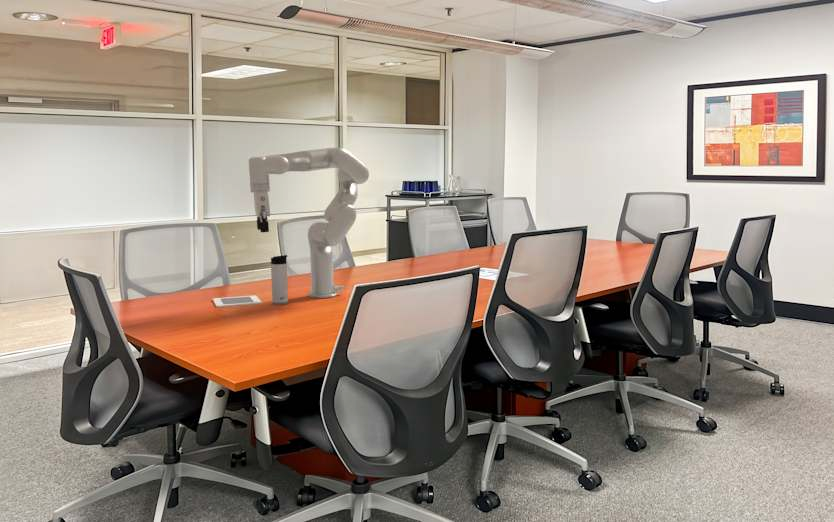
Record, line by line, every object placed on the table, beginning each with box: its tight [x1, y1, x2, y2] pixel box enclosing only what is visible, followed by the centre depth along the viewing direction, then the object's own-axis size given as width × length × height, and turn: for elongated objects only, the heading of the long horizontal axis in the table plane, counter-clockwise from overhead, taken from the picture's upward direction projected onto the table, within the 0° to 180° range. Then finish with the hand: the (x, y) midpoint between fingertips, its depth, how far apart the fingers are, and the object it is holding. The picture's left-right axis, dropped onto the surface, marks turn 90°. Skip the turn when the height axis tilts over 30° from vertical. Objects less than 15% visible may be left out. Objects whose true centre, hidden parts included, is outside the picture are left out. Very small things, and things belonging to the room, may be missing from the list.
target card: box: [212, 294, 263, 308], centre depth 301 cm, size 18×16×1 cm
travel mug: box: [270, 254, 289, 306], centre depth 295 cm, size 6×7×20 cm
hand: (263, 230), depth 292 cm, fingers open, 9 cm apart
